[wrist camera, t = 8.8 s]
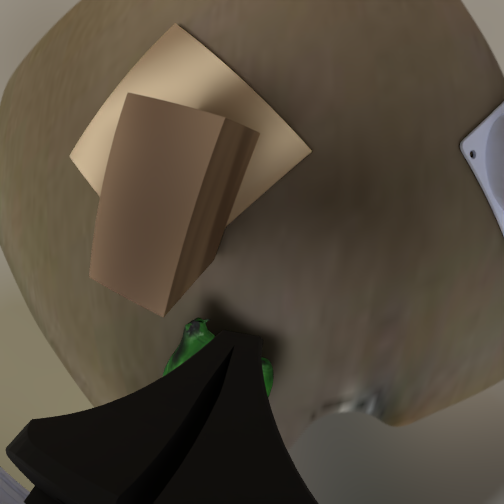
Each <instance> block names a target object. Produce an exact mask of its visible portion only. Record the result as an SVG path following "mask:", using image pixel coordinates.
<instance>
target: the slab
mask: <svg viewBox="0 0 504 504" xmlns="http://www.w3.org/2000/svg"><path fill="white" fill-rule="evenodd" d="M259 135H260V133H259V132H257V131H255V130H252V129H250V128H248V127H246V126H244V125H241V124H239V123H237V122H234V121H232V120H230V119H228V118H225V117H222V116H219V115H215V114H212V113H209V112H205V111H202V110H198V109H195V108H191V107H188V106H184V105H180V104H176V103H172V102H168V101H164V100H160V99H156V98H152V97H147V96H143V95H138V94H133V93H127V96H126V99H125V102H124V105H123V108H122V111H121V114H120V118H119V121H118V124H117V128H116V131H115V135H114V138H113V142H112V146H111V150H110V154H109V158H108V162H107V166H106V171H105V175H104V180H103V184H102V189H101V194H100V200H99V205H98V211H97V217H96V223H95V230H94V237H93V245H92V253H91V262H90V273H89V277H90V278H92V279H93V280H95V281H97V282H99V283H100V284H102V285H104V286H105V287H107V288H109V289H111V290H113V291H114V292H116V293H118V294H120V295H122V296H123V297H125V298H127V299H129V300H131V301H133V302H134V303H136V304H138V305H140V306H142V307H144V308H146V309H148V310H150V311H152V312H154V313H156V314H158V315H160V316H162V317H164V316H165V315H166V314H167V313H168V312H169V311H170V310H171V308H172V307H173V306H174V305H175V304H176V303H177V301H178V300H179V299H180V298H181V297H182V296H183V295H184V293H185V292H186V291H187V290H188V289H189V288H190V287H191V285H192V284H193V283H194V282H195V281H196V280H197V279H198V277H199V276H200V275H201V274H202V273H203V272H204V271H205V269H206V268H207V267H208V266H209V265H210V264H211V263H212V262H213V260H214V259H215V256H216V253H217V250H218V247H219V244H220V241H221V238H222V236H223V233H224V230H225V227H226V224H227V221H228V219H229V216H230V213H231V210H232V208H233V205H234V202H235V199H236V197H237V194H238V191H239V188H240V186H241V183H242V180H243V178H244V175H245V172H246V170H247V167H248V164H249V162H250V159H251V156H252V154H253V151H254V148H255V146H256V143H257V141H258V138H259Z"/></svg>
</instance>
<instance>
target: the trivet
mask: <svg viewBox="0 0 504 504" xmlns="http://www.w3.org/2000/svg"><path fill="white" fill-rule="evenodd" d="M127 93H133V94H138V95H143V96H147V97H152V98H156V99H160V100H164V101H168V102H172V103H176V104H180V105H184V106H188V107H191V108H195V109H198V110H202V111H205V112H209V113H212V114H215V115H219V116H222V117H225V118H228V119H230V120H232V121H234V122H237V123H239V124H241V125H244V126H246V127H248V128H250V129H252V130H255V131H257V132H259V133H260V135H259V138H258V141H257V143H256V146H255V148H254V151H253V154H252V156H251V159H250V162H249V164H248V167H247V170H246V172H245V175H244V178H243V180H242V183H241V186H240V188H239V191H238V194H237V197H236V199H235V202H234V205H233V208H232V210H231V213H230V216H229V219H228V221H227V224H226V226H228V225H229V224H230V223H231V222H232V221H233V220H234V219H235V218H236V217H238V216H239V215H240V214H241V213H242V212H243V211H244V210H245V209H246V208H248V207H249V206H250V205H251V204H252V203H253V202H254V201H255V200H257V199H258V198H259V197H260V196H261V195H262V194H263V193H264V192H266V191H267V190H268V189H269V188H270V187H271V186H272V185H274V184H275V183H276V182H277V181H278V180H279V179H281V178H282V177H283V176H284V175H285V174H286V173H287V172H289V171H290V170H291V169H292V168H293V167H294V166H296V165H297V164H298V163H299V162H300V161H301V160H303V159H304V158H305V157H306V156H307V155H308V154H310V153H311V152H312V150H311V149H310V148H309V147H308V146H307V145H306V144H305V143H304V142H303V140H302V139H301V138H300V137H299V136H298V135H297V134H296V133H295V132H294V131H293V130H292V129H291V127H290V126H289V125H288V124H287V123H286V122H285V121H284V120H283V119H282V118H281V117H280V116H279V115H278V114H277V113H276V112H275V111H274V110H273V109H272V108H271V107H270V106H269V105H268V104H267V103H266V102H265V101H264V100H263V99H262V98H261V97H260V96H259V95H258V94H257V93H256V92H255V91H254V90H253V89H252V88H251V87H250V86H249V85H248V84H246V83H245V82H244V81H243V80H242V79H241V78H240V77H239V76H238V75H237V74H236V73H235V72H233V71H232V70H231V69H230V68H229V67H228V66H227V65H226V64H225V63H223V62H222V61H221V60H220V59H219V58H218V57H216V56H215V55H214V54H213V53H212V52H211V51H209V50H208V49H207V48H206V47H205V46H203V45H202V44H201V43H200V42H199V41H197V40H196V39H195V38H194V37H192V36H191V35H190V34H189V33H187V32H186V31H185V30H184V29H182V28H181V27H180V26H178V25H177V24H176V23H175V24H174V25H173V26H172V27H171V28H170V29H169V30H168V31H167V32H166V33H165V34H163V35H162V37H161V38H160V39H159V40H158V41H157V42H156V43H155V44H154V45H153V46H152V47H151V48H150V49H149V50H148V51H147V52H146V53H145V54H144V55H143V57H142V58H141V59H140V60H139V61H138V62H137V63H136V64H135V66H134V67H133V68H132V69H131V70H130V71H129V73H128V74H127V75H126V76H125V77H124V79H123V80H122V81H121V82H120V84H119V85H118V86H117V87H116V89H115V90H114V91H113V92H112V94H111V95H110V96H109V98H108V99H107V100H106V102H105V103H104V104H103V106H102V107H101V109H100V110H99V111H98V113H97V114H96V116H95V117H94V118H93V120H92V121H91V123H90V124H89V126H88V127H87V129H86V130H85V132H84V133H83V135H82V136H81V138H80V140H79V141H78V143H77V144H76V146H75V148H74V149H73V151H72V153H71V154H70V156H69V157H70V158H71V159H72V161H73V162H74V163H75V165H76V166H77V167H78V169H79V170H80V171H81V173H82V174H83V175H84V177H85V178H86V179H87V181H88V182H89V183H90V185H91V186H92V187H93V189H94V190H95V191H96V192H97V194H98V195H99V196H100V194H101V189H102V184H103V180H104V175H105V171H106V166H107V162H108V158H109V154H110V150H111V146H112V142H113V138H114V135H115V131H116V128H117V124H118V121H119V118H120V114H121V111H122V108H123V105H124V102H125V99H126V96H127Z"/></svg>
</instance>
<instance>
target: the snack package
mask: <svg viewBox="0 0 504 504" xmlns="http://www.w3.org/2000/svg"><path fill="white" fill-rule="evenodd" d="M209 320H210V319H205V320H202V319H201V318H196V319H194V320H193V321H191V322H190V323H188V324H187V325H185V329H184V333H183V338H182V340H181V343H180V345H179V346H178V348H177V349H176V351H175V352H174V353H173V355H172V356H171V358H170V359H169V361H168V363H167V365H166V367H165V370H164V373H163V376H165V375H166V374H168V373H169V372H171V371H172V370H174V369H175V368H177V367H178V366H180V365H181V364H182V363H184V362H185V361H186V360H188V359H189V358H190V357H191V356H193V355H194V354H195V353H197V352H198V351H199V350H200V349H202V348H203V347H204V346H205V345H206V344H207V343H209V342H210V341H211V340H212V339H213V338H214V337H215V335H214V334H212V333H211V332H210V331H209V330H208V329H207V327H206V322H207V321H209ZM261 358H262V357H261ZM262 370H263V376H264V382H265V387H266V392H267V396H268V397H269V394H270V391H271V388H272V384H273V368H272V365H271V362H270V361H269V360H268V359H266V358H262ZM163 376H162V377H163Z"/></svg>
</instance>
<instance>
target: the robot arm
mask: <svg viewBox="0 0 504 504" xmlns="http://www.w3.org/2000/svg"><path fill="white" fill-rule="evenodd" d="M460 149H461V152H462V154H463V155H464V157H465V159H466V160H467V162H468V164H469V165H470V167H471V169H472V171H473V173H474V174H475V176H476V178H477V180H478V182H479V184H480V186H481V188H482V190H483V192H484V194H485V196H486V198H487V200H488V202H489V204H490V206H491V208H492V210H493V213H494V215H495V217H496V219H497V222H498V224H499V226H500V229H501V231H502V234H503V236H504V101H503V102H502V103H501V104H500V105H499V106H498V107H497V108H496V109H495V110H494V111H493V112H492V113H491V114H490V115H489V116H488V117H487V118H486V119H485V120H484V121H483V122H481V123H480V124H479V125H478V126H477V127H476V128H475V129H474V130H473V131H472V132H471V133H470V134H469V135H468V136H466V137H465V138H464V139H463V140H462V141H461V143H460ZM470 151H472V152H473V157H472V158H471V157H470ZM262 345H263V339H262V338H261V337H260V336H254V335H248V334H242V333H237V332H232V331H226V330H223V331H221V332H220V333H219V334H218V335H217V336H215V337H214V338H213V339H212V340H211V341H210V342H209V343H207V344H206V345H205V346H204V347H203V348H202V349H200V350H199V351H198V352H197V353H195V354H194V355H193V356H191V357H190V358H189V359H188V360H186V361H185V362H184V363H182V364H181V365H180V366H178V367H177V368H175V369H174V370H172V371H171V372H169V373H168V374H166V375H165V376H163V377H161V378H160V379H158V380H156V381H155V382H153V383H151V384H149V385H148V386H146V387H144V388H142V389H140V390H138V391H136V392H134V393H132V394H129V395H127V396H125V397H122V398H120V399H117V400H115V401H112V402H110V403H107V404H104V405H102V406H98V407H95V408H92V409H88V410H85V411H81V412H76V413H72V414H68V415H62V416H55V417H49V418H41V419H32V420H31V421H30V422H29V423H28V424H27V425H26V426H25V427H24V429H23V430H22V431H21V432H20V433H19V434H18V435H17V436H16V437H15V439H14V440H13V441H12V442H11V443H10V444H9V445H8V446H7V448H6V454H7V456H8V457H9V458H10V460H11V461H12V462H13V463H14V464H15V465H16V467H18V469H19V470H20V471H21V472H22V473H23V474H24V475H25V476H26V477H27V478H28V479H29V480H30V481H31V482H32V483H33V484H34V485H35V487H34V488H33V489H32V491H31V492H29V491H28V490H26V489H25V488H24V487H23V486H22V485H20V484H19V483H18V482H17V481H16V480H14V479H13V478H12V477H11V476H10V475H9V474H8V473H7V472H6V471H4V470H3V469H2V468H1V467H0V504H318V502H317V501H316V500H315V498H314V497H313V495H312V494H311V492H310V491H309V489H308V488H307V486H306V484H305V483H304V481H303V479H302V478H301V476H300V474H299V473H298V471H297V469H296V467H295V465H294V463H293V461H292V459H291V457H290V455H289V453H288V451H287V449H286V447H285V445H284V443H283V440H282V438H281V435H280V433H279V430H278V428H277V425H276V422H275V420H274V417H273V414H272V410H271V407H270V403H269V400H268V396H267V392H266V387H265V382H264V376H263V370H262V358H261V353H262Z"/></svg>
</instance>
